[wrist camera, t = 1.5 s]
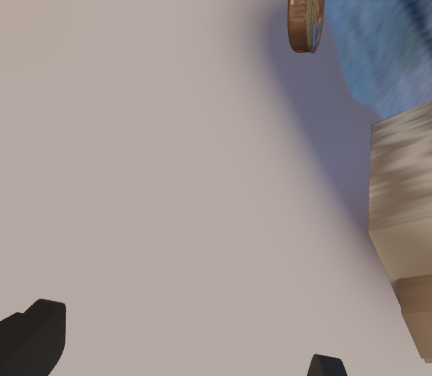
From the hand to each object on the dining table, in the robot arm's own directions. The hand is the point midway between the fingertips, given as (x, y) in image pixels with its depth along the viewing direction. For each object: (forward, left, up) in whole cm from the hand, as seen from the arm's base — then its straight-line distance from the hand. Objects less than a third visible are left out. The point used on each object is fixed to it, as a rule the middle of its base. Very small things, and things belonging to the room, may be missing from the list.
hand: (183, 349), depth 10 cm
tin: (-4, -16, -45) cm, 48 cm away
